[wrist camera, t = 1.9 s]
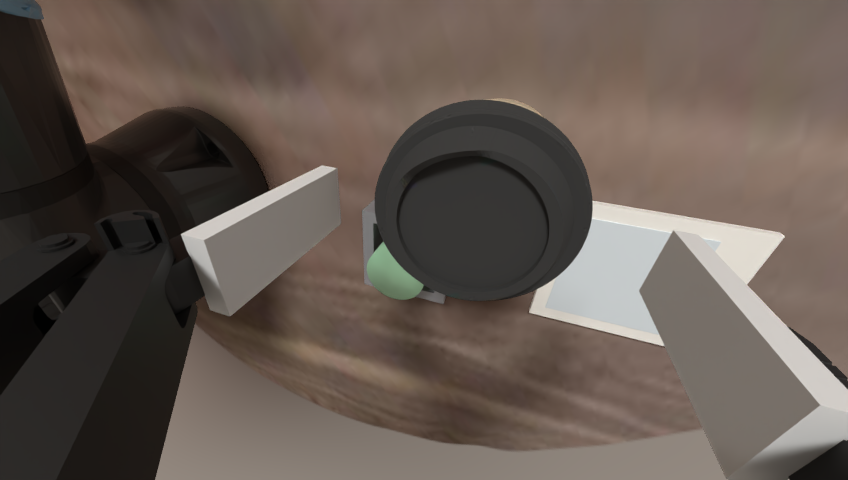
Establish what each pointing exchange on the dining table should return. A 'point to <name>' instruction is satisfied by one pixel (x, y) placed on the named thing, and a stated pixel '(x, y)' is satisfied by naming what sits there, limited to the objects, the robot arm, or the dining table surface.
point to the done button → (391, 276)
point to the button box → (374, 240)
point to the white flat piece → (637, 267)
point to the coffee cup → (484, 200)
